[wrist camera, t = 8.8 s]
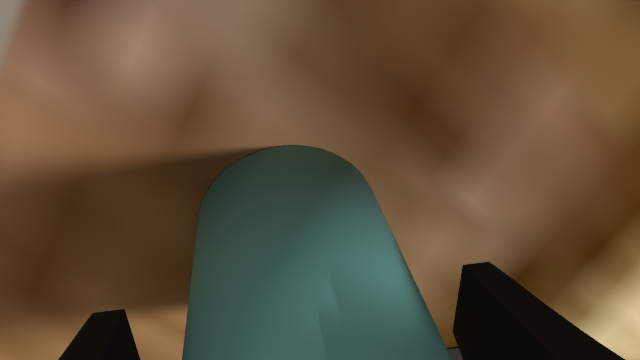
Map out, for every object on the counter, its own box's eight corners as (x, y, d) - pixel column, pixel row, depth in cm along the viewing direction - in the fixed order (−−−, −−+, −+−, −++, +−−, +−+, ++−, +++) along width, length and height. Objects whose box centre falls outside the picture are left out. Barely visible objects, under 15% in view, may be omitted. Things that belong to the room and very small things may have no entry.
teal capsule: (379, 136, 13) (508, 348, 7) (374, 283, 15) (464, 531, 9) (182, 154, 12) (134, 403, 6) (211, 303, 15) (195, 583, 9)
